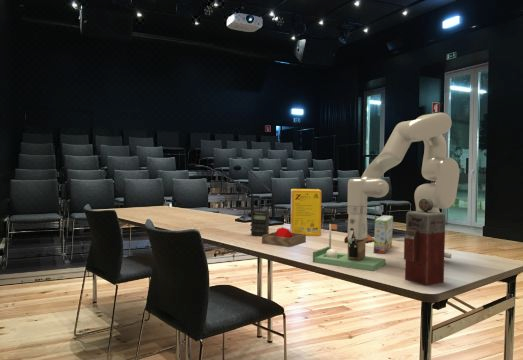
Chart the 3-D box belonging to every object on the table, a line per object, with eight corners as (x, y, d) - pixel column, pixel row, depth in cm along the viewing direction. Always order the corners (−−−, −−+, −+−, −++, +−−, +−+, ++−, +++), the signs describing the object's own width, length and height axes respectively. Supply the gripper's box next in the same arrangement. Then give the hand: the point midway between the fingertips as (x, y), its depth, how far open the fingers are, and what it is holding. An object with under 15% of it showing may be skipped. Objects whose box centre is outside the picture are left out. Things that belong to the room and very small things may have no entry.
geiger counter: (248, 236, 232) (249, 208, 231) (251, 234, 236) (251, 207, 235) (267, 237, 228) (267, 209, 228) (269, 236, 233) (270, 208, 232)
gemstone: (289, 243, 204) (295, 232, 212) (273, 234, 205) (280, 223, 213) (283, 255, 209) (289, 244, 217) (267, 247, 210) (274, 235, 218)
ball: (327, 256, 177) (337, 261, 175) (322, 258, 173) (332, 263, 171) (330, 246, 177) (340, 250, 174) (325, 247, 173) (336, 252, 170)
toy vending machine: (399, 280, 145) (401, 198, 144) (421, 276, 151) (423, 197, 150) (421, 286, 137) (423, 200, 136) (444, 282, 143) (446, 198, 142)
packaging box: (290, 231, 251) (290, 188, 250) (318, 231, 250) (318, 189, 249) (291, 235, 235) (291, 190, 234) (320, 236, 234) (321, 190, 233)
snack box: (386, 254, 188) (386, 220, 187) (373, 253, 190) (373, 219, 190) (392, 246, 207) (393, 215, 206) (380, 245, 209) (381, 214, 209)
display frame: (305, 242, 215) (305, 234, 215) (290, 246, 202) (290, 238, 202) (278, 238, 224) (278, 231, 224) (261, 243, 211) (262, 235, 211)
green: (385, 263, 169) (386, 228, 168) (373, 270, 157) (374, 233, 157) (327, 255, 183) (328, 223, 182) (312, 261, 171) (313, 227, 170)
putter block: (365, 257, 169) (365, 239, 169) (359, 260, 164) (360, 242, 164) (353, 255, 172) (353, 238, 172) (347, 258, 167) (347, 240, 167)
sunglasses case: (357, 245, 208) (352, 232, 211) (347, 250, 213) (342, 238, 216) (379, 241, 220) (373, 229, 223) (369, 246, 225) (364, 234, 227)
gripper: (358, 212, 158) (357, 260, 159) (373, 208, 173) (373, 253, 173) (339, 211, 162) (338, 258, 163) (356, 207, 177) (355, 250, 177)
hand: (356, 255), depth 168 cm, fingers closed on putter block, 6 cm apart
